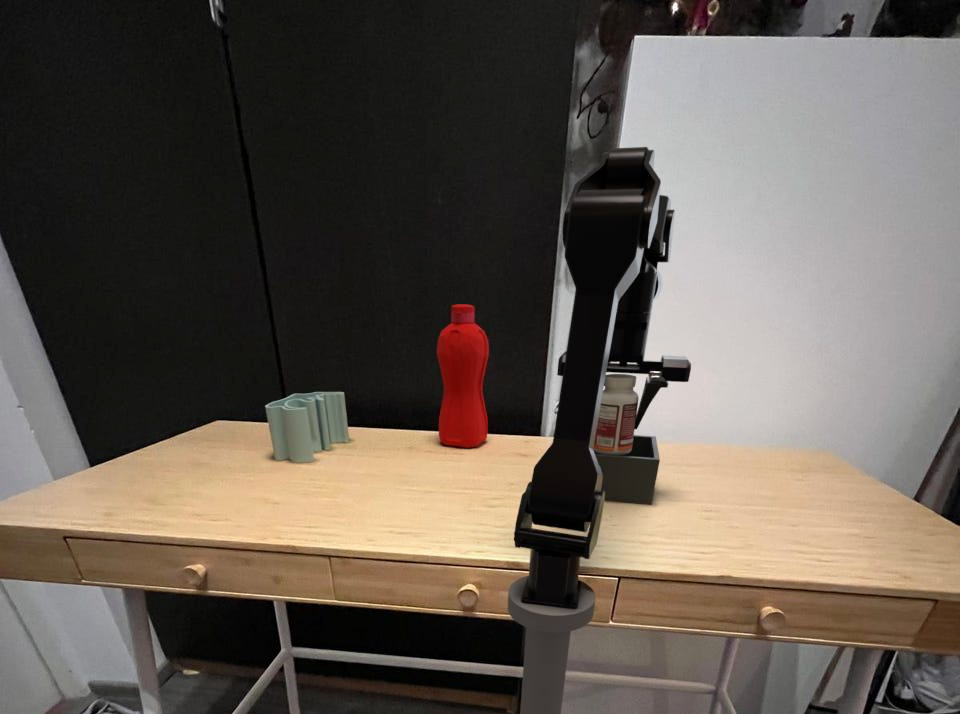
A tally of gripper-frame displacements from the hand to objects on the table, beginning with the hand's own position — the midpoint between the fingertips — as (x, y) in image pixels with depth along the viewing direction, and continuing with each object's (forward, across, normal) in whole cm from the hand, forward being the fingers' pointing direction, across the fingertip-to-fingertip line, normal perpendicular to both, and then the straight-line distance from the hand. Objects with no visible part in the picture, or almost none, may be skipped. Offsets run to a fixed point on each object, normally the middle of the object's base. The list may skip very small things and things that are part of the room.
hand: (614, 427), depth 88 cm
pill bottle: (+4, 0, 0) cm, 4 cm away
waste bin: (+10, 0, -3) cm, 11 cm away
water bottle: (+10, +30, -25) cm, 41 cm away
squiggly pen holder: (+10, +58, -11) cm, 60 cm away
